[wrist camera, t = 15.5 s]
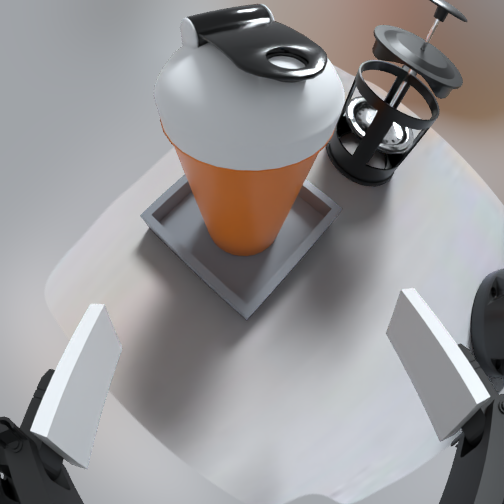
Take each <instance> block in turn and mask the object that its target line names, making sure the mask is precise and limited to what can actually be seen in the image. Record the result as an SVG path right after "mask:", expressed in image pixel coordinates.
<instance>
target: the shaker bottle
mask: <svg viewBox="0 0 504 504" xmlns="http://www.w3.org/2000/svg"><path fill="white" fill-rule="evenodd" d="M180 29H181V37H182V44H183V46H182V47H181V48H180V49H178V50H177V51H176V52H175V53H174V54H173V55H172V56H171V57H170V59H169V60H168V61H167V63H166V64H165V66H164V67H163V69H162V71H161V72H160V73H159V75H158V78H157V80H156V83H155V86H154V99H155V102H156V106H157V109H158V112H159V116H160V122H161V125H162V128H163V132H164V133H165V135H166V136H167V138H168V139H169V141H170V142H171V144H172V145H173V146H175V149H176V152H177V154H178V157H179V159H180V162H181V165H182V167H183V170H184V172H185V175H186V177H187V180H188V182H189V185H190V187H191V190H192V192H193V195H194V197H195V200H196V202H197V205H198V207H199V210H200V212H201V215H202V217H203V220H204V222H205V225H206V227H207V229H208V232H209V234H210V237H211V238H212V240H213V241H214V243H215V244H216V245H217V246H218V247H219V248H221V249H222V250H224V251H225V252H227V253H230V254H232V255H237V256H250V255H255V254H258V253H260V252H262V251H264V250H265V249H267V248H268V247H269V246H270V245H271V244H272V243H273V242H274V240H275V239H276V237H277V235H278V233H279V231H280V229H281V227H282V225H283V223H284V221H285V219H286V217H287V215H288V213H289V211H290V209H291V207H292V205H293V203H294V201H295V199H296V197H297V195H298V193H299V191H300V189H301V187H302V185H303V183H304V181H305V179H306V177H307V175H308V173H309V171H310V169H311V167H312V165H313V163H314V161H315V159H316V157H317V155H318V153H319V151H321V150H322V149H323V148H324V147H325V146H326V145H327V143H328V142H329V140H330V139H331V138H332V136H333V133H334V130H335V127H336V124H337V122H338V119H339V117H340V115H341V112H342V109H343V106H344V103H345V93H344V88H343V85H342V83H341V80H340V78H339V76H338V74H337V72H336V70H335V68H334V67H333V65H332V64H331V62H330V61H329V59H328V58H327V54H326V53H325V51H324V50H323V49H322V48H321V47H320V46H318V45H317V44H316V43H314V42H313V41H312V40H310V39H309V38H307V37H306V36H304V35H303V34H301V33H299V32H298V31H296V30H294V29H292V28H290V27H288V26H286V25H284V24H281V23H279V22H276V21H274V18H273V15H272V13H271V11H270V9H269V8H268V7H267V6H265V5H263V4H253V5H245V6H239V7H232V8H226V9H221V10H216V11H211V12H206V13H202V14H197V15H193V16H189V17H187V18H184V19H183V20H182V22H181V26H180Z"/></svg>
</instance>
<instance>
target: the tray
mask: <svg viewBox="0 0 504 504" xmlns="http://www.w3.org/2000/svg"><path fill="white" fill-rule="evenodd" d="M342 209H343V208H341V207H340V206H339V205H338V204H337V203H335V202H334V201H333V200H332V199H330V198H329V197H328V196H327V195H326V194H324V193H323V192H322V191H321V190H319V189H318V188H317V187H316V186H314V185H313V184H312V183H311V182H309V181H308V180H307V179H305V181H304V183H303V185H302V187H301V189H300V191H299V193H298V195H297V197H296V199H295V201H294V203H293V205H292V207H291V209H290V211H289V213H288V215H287V217H286V219H285V221H284V223H283V225H282V227H281V229H280V231H279V233H278V235H277V237H276V239H275V240H274V242H273V243H272V244H271V245H270V246H269V247H268V248H267V249H265V250H264V251H262V252H260V253H258V254H255V255H250V256H237V255H232V254H230V253H227V252H225V251H224V250H222V249H221V248H219V247H218V246H217V245H216V244H215V243H214V241H213V240H212V238H211V237H210V234H209V232H208V229H207V227H206V225H205V222H204V220H203V217H202V215H201V212H200V210H199V207H198V205H197V202H196V200H195V197H194V195H193V192H192V190H191V187H190V185H189V182H188V180H187V177H186V175H184V176H182V177H181V178H180V179H179V180H178V181H177V182H176V183H175V184H173V185H172V186H171V187H170V188H169V189H168V190H167V191H166V192H165V193H163V194H162V195H161V196H160V197H159V198H158V199H157V200H156V201H155V202H154V203H153V204H152V205H151V206H150V207H148V208H147V209H146V210H145V211H144V212H143V213H142V214H141V215H140V216H141V217H142V219H143V220H144V221H145V223H146V224H147V225H148V227H149V228H150V229H151V230H152V231H153V232H154V233H155V234H156V235H157V236H158V237H159V238H160V239H161V240H162V241H163V242H164V243H165V244H166V245H167V246H168V247H169V248H170V249H171V250H172V251H173V252H174V253H175V254H176V255H177V256H178V257H179V258H180V259H181V260H182V261H183V262H184V263H185V264H186V265H188V266H189V267H190V268H191V269H192V270H193V271H194V272H195V273H196V274H197V275H198V276H199V277H200V278H201V279H202V280H203V281H204V282H205V283H206V284H207V285H209V286H210V287H211V288H212V289H213V290H214V291H215V292H216V293H217V294H218V295H219V296H220V297H221V298H223V299H224V300H225V301H226V302H227V303H228V304H229V305H230V306H231V307H232V308H233V309H235V310H236V311H237V312H238V313H239V314H240V315H241V316H242V317H243V318H245V319H246V320H247V319H248V318H249V317H250V316H251V315H252V314H253V313H254V312H255V311H256V310H257V308H258V307H259V306H260V305H261V304H262V303H263V302H264V301H265V300H266V298H267V297H268V296H269V295H270V294H271V293H272V292H273V291H274V289H275V288H276V287H277V286H278V285H279V284H280V283H281V282H282V280H283V279H284V278H285V277H286V276H287V275H288V274H289V272H290V271H291V270H292V269H293V268H294V267H295V266H296V264H297V263H298V262H299V261H300V260H301V259H302V257H303V256H304V255H305V254H306V253H307V252H308V250H309V249H310V248H311V247H312V246H313V245H314V243H315V242H316V241H317V240H318V239H319V237H320V236H321V235H322V234H323V233H324V231H325V230H326V229H327V228H328V227H329V226H330V224H331V223H332V222H333V221H334V219H335V218H336V217H337V215H338V214H339V213H340V212H341V210H342Z"/></svg>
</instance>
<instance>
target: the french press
mask: <svg viewBox="0 0 504 504" xmlns="http://www.w3.org/2000/svg"><path fill="white" fill-rule="evenodd" d="M430 1H431V2H433V3H434V4H436V5H437V6H438V7H437V9H436V12H435V14H434V17H435V18H436V20H435V22H434V24H433V26H432V28H431V30H430V32H429V33H428V35H427V38H426V39H425V40H424V39H422V38H420V37H419V36H417V35H415V34H413V33H411V32H408V31H406V30H403V29H400V28H397V27H393V26H389V25H379V26H377V27H376V28H375V30H374V36H375V38H376V41H375V43H374V46H373V48H372V49H373V54H374V56H375V57H376V58H377V59H378V60H369V61H366V62H363V63H362V64H361V65H360V67H359V70H358V73H357V75H356V77H355V80H354V82H353V84H352V87H351V89H350V92H349V94H348V97H347V99H346V101H345V104H344V106H343V109H342V112H341V115H340V117H339V119H338V122H337V124H336V127H335V130H334V133H333V136H332V138H331V139H330V140H329V142H328V143H327V152H328V155H329V157H330V159H331V161H332V163H333V164H334V166H335V167H336V168H337V169H338V170H339V171H340V172H341V173H342V174H343V175H344V176H346V177H347V178H349V179H350V180H352V181H354V182H356V183H359V184H362V185H366V186H378V185H382V184H384V183H386V182H387V181H388V180H390V179H391V177H392V176H393V174H394V171H395V170H396V169H397V167H398V166H399V165H400V164H401V163H402V161H403V160H404V159H405V158H406V157H407V155H408V154H409V153H410V152H411V150H412V149H413V148H414V147H415V146H416V144H417V143H418V142H419V141H420V139H421V138H422V137H423V136H424V134H425V133H426V132H427V131H428V129H429V128H430V127H431V125H432V124H433V123H434V121H435V120H436V119H437V118H438V115H439V106H438V103H437V101H436V99H435V97H434V96H433V94H432V93H431V91H430V90H429V89H428V88H427V87H426V86H425V85H424V84H423V83H422V82H421V81H420V80H419V79H418V78H417V77H416V75H417V73H418V74H420V75H421V76H422V77H423V78H424V79H425V80H426V82H427V83H428V84H429V86H430V88H431V89H432V91H433V92H434V94H435V96H436V97H438V98H440V99H442V98H446V97H447V96H448V95H449V93H450V92H451V91H452V89H458V88H459V87H461V85H462V83H463V80H462V77H461V74H460V73H459V71H458V70H457V68H456V67H455V65H454V64H453V63H452V62H451V61H450V60H449V59H448V58H447V57H446V56H445V55H444V54H443V53H442V52H441V51H439V50H438V49H437V48H436V47H434V46H433V45H431V44H430V43H429V41H430V39H431V37H432V35H433V33H434V31H435V30H436V28H437V26H438V24H439V22H440V21H442V22H443V21H444V20H445V18H446V16H447V15H448V13H450V14H452V15H453V16H455V17H457V18H458V19H460V20H462V21H464V22H467V19H466V18H465V16H464V15H463V14H462V13H461V12H460V11H458V10H457V9H456V8H455V7H453V6H452V5H450V4H449V3H447V2H446V1H444V0H430ZM380 60H383V61H380ZM385 61H392V62H397V63H401V64H404V65H403V66H402V68H401V67H399V66H396V65H394V64H391V63H388V62H385ZM405 65H406V66H405ZM365 70H380V71H385V72H388V73H391V74H393V75H395V76H397V78H396V80H395V82H394V83H393V85H392V87H391V89H390V91H389V93H388V94H387V96H386V98H385V100H384V101H383V100H382V99H381V98H379V97H378V96H377V95H376V94H375V93H374V92H373V91H372V90H371V89H370V88H369V87H368V85H367V84H366V83H365V81H364V79H363V77H362V72H363V71H365ZM356 86H357V88H358V90H359V92H360V94H361V95H362V96H360V97H355V98H353V99H351V97H352V95H353V92H354V90H355V88H356ZM410 86H413V87H414V88H415V89H416V90H417V91H418V92H419V93H420V94H421V95H422V96H423V97H424V99H425V100H426V102H427V103H428V105H429V107H430V109H431V113H432V117H431V119H430V120H422V119H417V118H414V117H411V116H408V115H406V114H404V113H402V112H400V111H398V110H397V107H398V106H399V104H400V102H401V100H402V99H403V97H404V96H405V94H406V92H407V90H408V89H409V87H410ZM350 99H351V100H350ZM345 111H346V114H344V113H345ZM412 129H416V130H421V132H420V133H419V134H418V136H417V137H416V138H415V139H414V138H413V132H412ZM351 132H354V133H355V135H356V136H357V137H358V138H359V139H360V140H361V142H360V143H359V145H358V147H357V149H356V150H355V152H354V154H353V156H352V155H351V154H350V153H349V152H348V151H347V150H346V148H345V147H344V146H343V144H342V143H341V141H340V139H339V138H340V137H341V136H342V135H344V134H346V133H351ZM413 140H414V141H413ZM376 150H377V151H380V152H383V153H384V154H385V156H386V167H385V169H379V168H375V167H371V166H369V165H366V164H367V163H368V161H369V160H370V158H371V157H372V155H373V154H374V152H375V151H376Z"/></svg>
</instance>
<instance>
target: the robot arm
mask: <svg viewBox="0 0 504 504" xmlns="http://www.w3.org/2000/svg"><path fill="white" fill-rule="evenodd" d="M386 334H387V336H388V338H389V340H390V342H391V343H392V345H393V347H394V349H395V351H396V353H397V354H398V356H399V358H400V360H401V362H402V364H403V366H404V368H405V369H406V371H407V373H408V375H409V377H410V379H411V381H412V383H413V385H414V387H415V389H416V391H417V393H418V395H419V397H420V399H421V401H422V403H423V406H424V408H425V410H426V412H427V414H428V416H429V418H430V420H431V423H432V425H433V427H434V429H435V432H436V434H437V436H438V438H439V441H443V440H445V439H447V438H449V437H451V436H453V435H454V434H455V433H456V432H457V431H458V430H459V429H460V428H462V430H463V432H462V433H461V434H460V435H459V436H458V437H457V438H456V439H455V440H454V441H452V443H451V446H453V445H454V444H456V443H457V442H458V441H459V442H458V444H457V445H456V446H455V447H457V450H456V454H455V458H454V461H453V465H452V468H451V472H450V475H449V478H448V481H447V484H446V486H445V489H444V492H443V495H442V498H441V500H440V502H439V504H504V394H500V395H499V394H498V393H497V392H496V390H495V388H494V387H493V385H492V384H491V382H490V380H489V379H488V377H487V376H486V375H488V376H490V377H504V269H500V270H498V271H495V272H493V273H490V274H489V275H488V276H486V278H485V279H484V280H483V281H482V283H481V285H480V287H479V289H478V292H477V294H476V298H475V302H474V306H473V313H472V342H473V349H474V353H475V357H476V359H475V358H474V356H473V355H472V353H471V352H470V350H468V349H467V348H466V347H465V346H463V345H462V344H458V345H457V344H456V342H455V341H454V340H453V338H452V337H451V335H450V334H449V333H448V331H447V330H446V329H445V327H444V326H443V325H442V323H441V322H440V321H439V319H438V318H437V317H436V315H435V314H434V313H433V311H432V310H431V309H430V307H429V306H428V305H427V304H426V302H425V301H424V300H423V299H422V297H421V296H420V295H419V294H418V292H417V291H416V290H415V289H414V288H409V289H401V291H400V294H399V297H398V300H397V303H396V306H395V309H394V312H393V315H392V318H391V321H390V324H389V326H388V329H387V332H386ZM121 351H122V345H121V343H120V341H119V339H118V336H117V334H116V332H115V329H114V327H113V324H112V322H111V319H110V317H109V314H108V312H107V309H106V306H105V304H90V306H89V307H88V309H87V311H86V313H85V314H84V316H83V318H82V320H81V321H80V323H79V325H78V327H77V329H76V331H75V332H74V334H73V336H72V338H71V340H70V342H69V344H68V346H67V348H66V350H65V352H64V354H63V356H62V358H61V360H60V362H59V364H58V366H57V368H56V370H52V369H49V370H48V371H47V372H46V373H45V375H44V376H43V377H42V378H41V380H40V382H39V384H38V386H37V390H36V391H35V393H34V395H33V396H34V398H32V400H31V402H30V404H29V407H28V409H27V412H26V414H25V417H24V419H23V422H22V424H21V426H20V428H18V427H17V426H16V425H15V424H14V423H13V422H12V421H11V420H10V419H9V418H7V417H0V472H1V473H3V474H4V479H2V478H1V475H0V504H84V503H83V501H82V499H81V498H80V496H79V494H78V492H77V490H76V488H75V486H74V484H73V483H72V480H71V478H70V476H69V474H68V472H67V470H66V468H65V467H64V465H63V464H62V462H63V459H65V460H66V461H68V462H69V463H70V464H72V465H75V466H78V467H82V468H85V469H88V464H89V460H90V456H91V452H92V447H93V443H94V439H95V435H96V432H97V428H98V424H99V420H100V417H101V413H102V410H103V406H104V403H105V400H106V397H107V393H108V390H109V387H110V384H111V381H112V378H113V375H114V372H115V369H116V366H117V363H118V360H119V357H120V354H121ZM475 360H477V361H475Z"/></svg>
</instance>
